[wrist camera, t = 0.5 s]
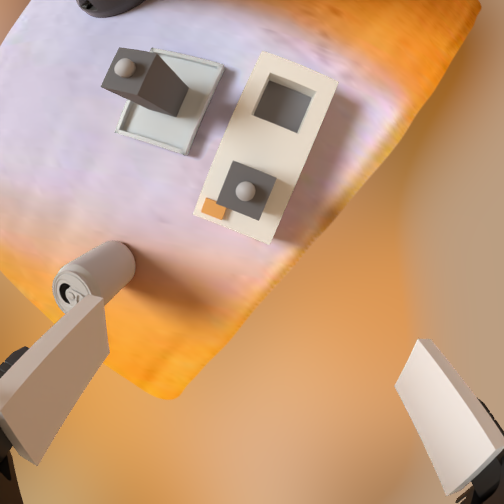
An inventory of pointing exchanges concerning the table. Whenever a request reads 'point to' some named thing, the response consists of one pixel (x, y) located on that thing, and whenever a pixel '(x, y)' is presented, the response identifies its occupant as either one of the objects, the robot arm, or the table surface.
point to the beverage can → (94, 275)
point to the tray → (191, 111)
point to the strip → (265, 147)
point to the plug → (145, 81)
